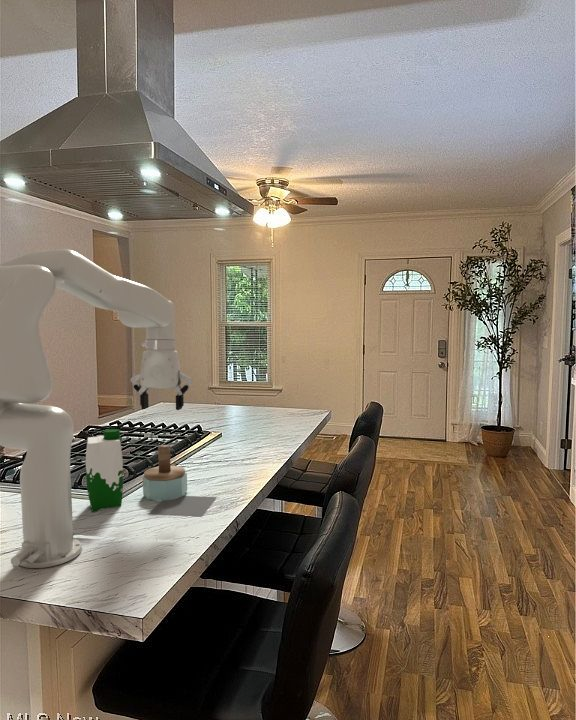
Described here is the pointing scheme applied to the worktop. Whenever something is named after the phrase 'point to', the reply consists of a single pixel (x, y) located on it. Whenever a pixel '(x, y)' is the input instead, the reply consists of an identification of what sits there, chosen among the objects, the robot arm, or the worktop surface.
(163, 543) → the worktop surface
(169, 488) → the bowl
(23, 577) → the worktop surface
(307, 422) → the worktop surface
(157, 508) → the mat
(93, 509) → the soya milk
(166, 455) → the lid
